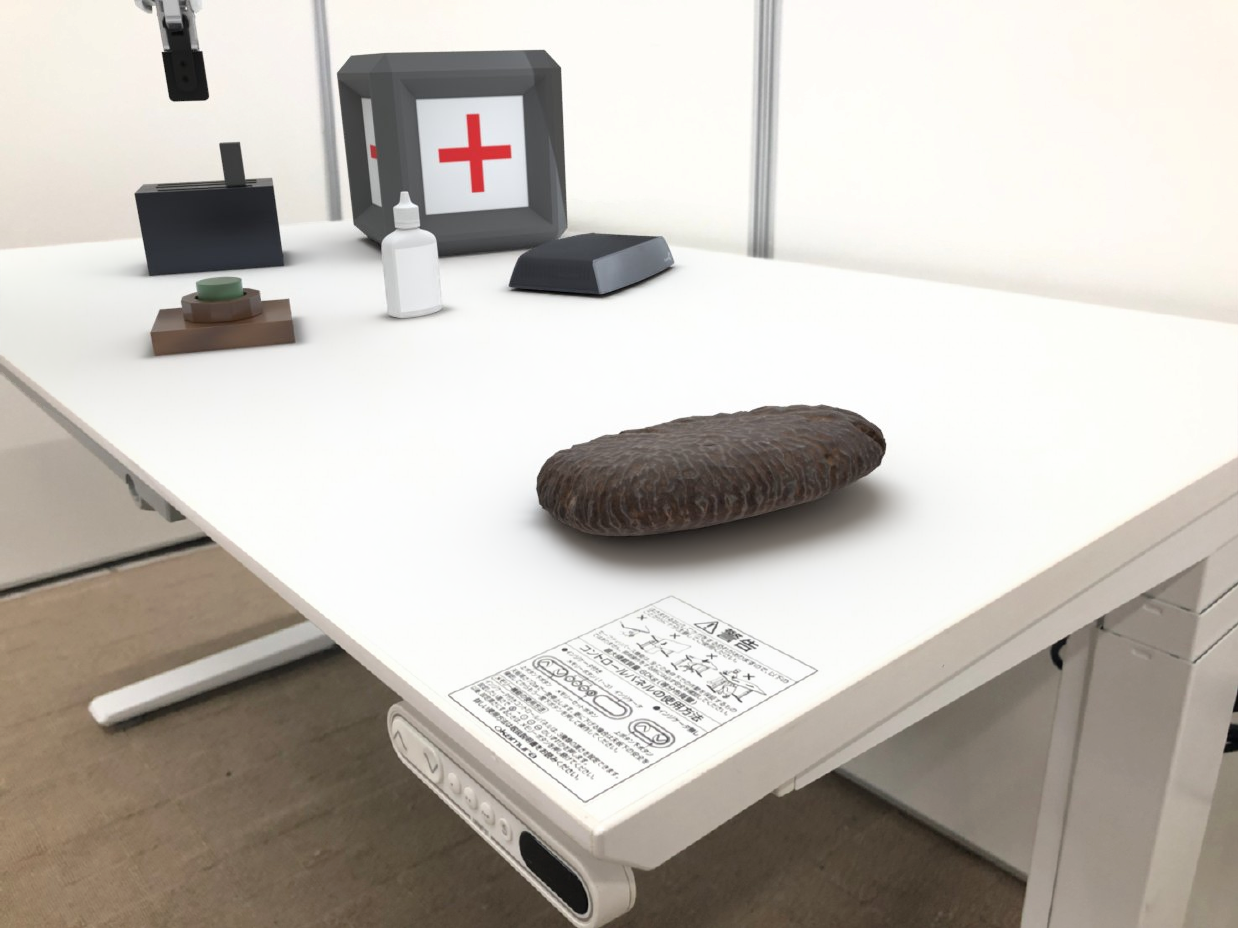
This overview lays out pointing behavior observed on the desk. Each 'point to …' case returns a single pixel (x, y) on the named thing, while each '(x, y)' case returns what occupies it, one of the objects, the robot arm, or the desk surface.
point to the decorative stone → (708, 469)
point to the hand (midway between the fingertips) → (189, 100)
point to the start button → (219, 288)
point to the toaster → (209, 226)
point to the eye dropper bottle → (410, 265)
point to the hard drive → (591, 263)
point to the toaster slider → (232, 163)
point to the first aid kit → (457, 146)
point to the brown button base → (222, 324)
